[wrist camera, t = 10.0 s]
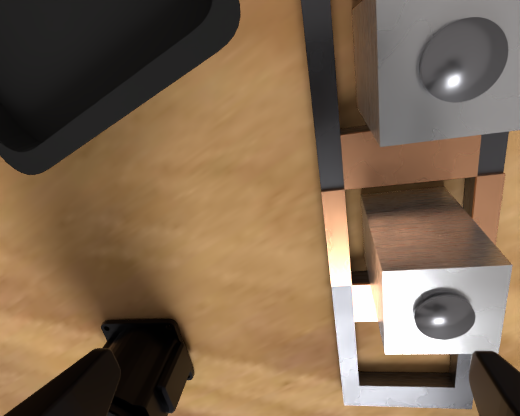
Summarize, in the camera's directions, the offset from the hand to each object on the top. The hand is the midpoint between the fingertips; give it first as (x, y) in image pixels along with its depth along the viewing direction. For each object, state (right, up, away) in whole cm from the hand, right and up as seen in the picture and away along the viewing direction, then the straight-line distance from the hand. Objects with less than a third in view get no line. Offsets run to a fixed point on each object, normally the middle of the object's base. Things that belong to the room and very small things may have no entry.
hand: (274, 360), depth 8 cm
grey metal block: (+7, +11, +8) cm, 15 cm away
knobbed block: (+8, +3, +12) cm, 15 cm away
